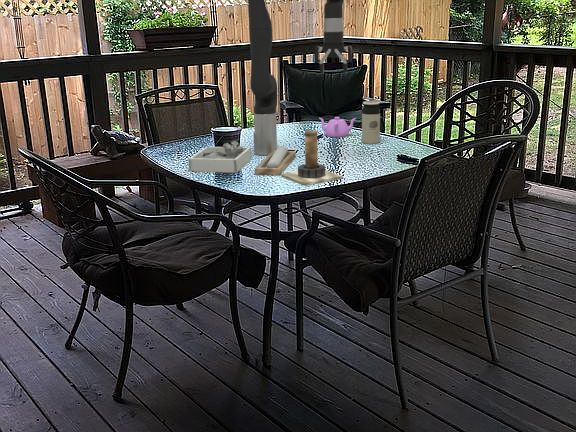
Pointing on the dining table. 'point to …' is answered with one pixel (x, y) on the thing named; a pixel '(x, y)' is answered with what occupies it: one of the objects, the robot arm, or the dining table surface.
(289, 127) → the dining table surface
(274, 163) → the tube
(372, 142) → the travel mug
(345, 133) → the teapot
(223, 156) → the coral
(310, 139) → the dowel
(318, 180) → the collar board
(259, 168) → the tube rest
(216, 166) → the coral tray
